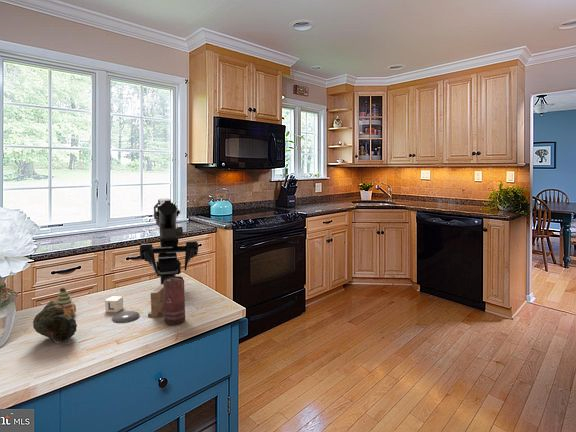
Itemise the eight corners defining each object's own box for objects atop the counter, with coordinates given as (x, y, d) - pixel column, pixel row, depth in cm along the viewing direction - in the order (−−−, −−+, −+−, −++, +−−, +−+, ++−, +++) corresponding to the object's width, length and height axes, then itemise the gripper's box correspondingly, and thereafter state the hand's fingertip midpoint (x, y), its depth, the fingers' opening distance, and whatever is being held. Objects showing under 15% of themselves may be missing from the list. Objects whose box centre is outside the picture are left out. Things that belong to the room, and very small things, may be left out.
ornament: (45, 323, 113) (42, 292, 112) (48, 316, 118) (46, 286, 117) (75, 319, 116) (73, 288, 115) (76, 312, 122) (75, 283, 121)
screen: (159, 306, 128) (158, 284, 127) (171, 306, 127) (171, 284, 126) (147, 316, 119) (146, 292, 118) (161, 317, 118) (160, 293, 117)
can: (180, 326, 112) (178, 281, 110) (161, 324, 113) (159, 280, 111) (189, 318, 117) (188, 276, 116) (171, 317, 119) (169, 274, 117)
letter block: (112, 307, 127) (111, 296, 126) (123, 307, 126) (122, 296, 126) (105, 312, 123) (104, 300, 122) (117, 312, 122) (116, 300, 122)
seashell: (28, 353, 95) (25, 316, 93) (38, 335, 105) (35, 301, 104) (76, 346, 99) (73, 310, 98) (80, 329, 109) (78, 296, 108)
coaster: (120, 312, 122) (120, 310, 122) (143, 312, 122) (143, 311, 122) (106, 322, 114) (106, 320, 114) (131, 322, 114) (131, 321, 114)
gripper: (138, 220, 121) (139, 260, 112) (196, 217, 127) (202, 255, 118) (140, 240, 129) (140, 279, 120) (194, 237, 135) (199, 273, 126)
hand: (171, 271), depth 121 cm, fingers open, 9 cm apart
